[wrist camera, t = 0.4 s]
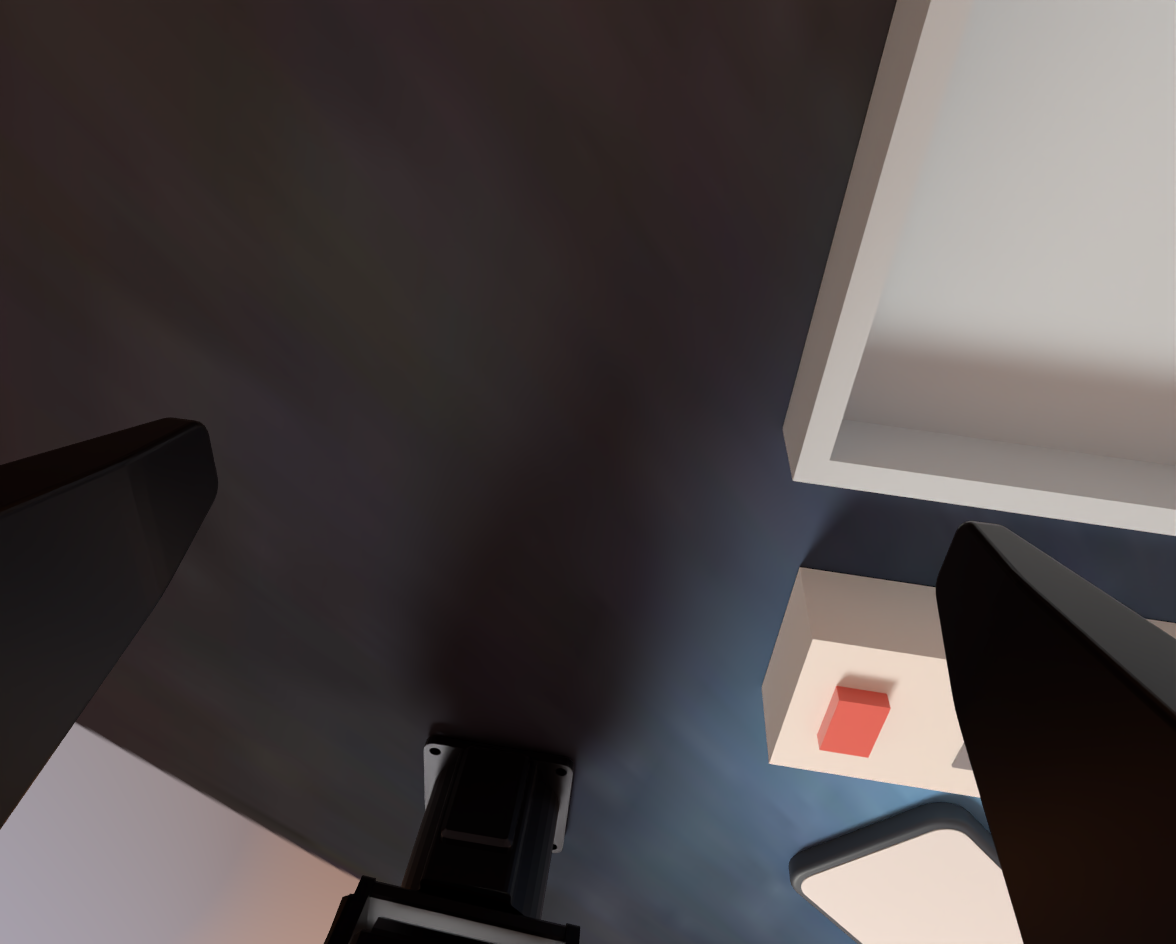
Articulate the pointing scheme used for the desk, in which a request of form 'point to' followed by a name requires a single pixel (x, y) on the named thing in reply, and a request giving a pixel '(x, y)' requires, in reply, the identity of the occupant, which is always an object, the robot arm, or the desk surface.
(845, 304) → the tray
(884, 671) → the power strip
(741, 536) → the desk surface
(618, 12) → the desk surface
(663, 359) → the desk surface
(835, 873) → the phone case
